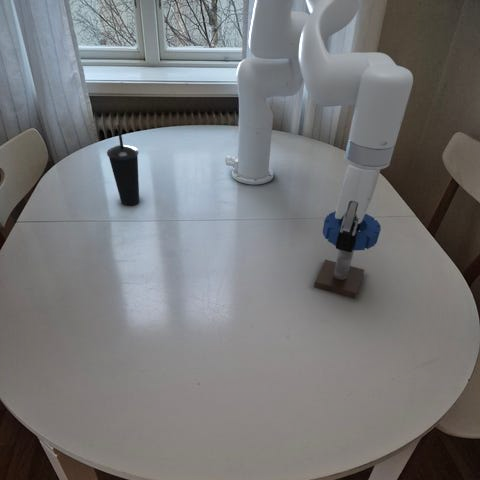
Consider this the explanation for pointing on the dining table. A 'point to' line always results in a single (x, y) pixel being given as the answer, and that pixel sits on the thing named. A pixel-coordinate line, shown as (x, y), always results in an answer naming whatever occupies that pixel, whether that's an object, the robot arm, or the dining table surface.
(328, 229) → the ring
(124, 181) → the drinking cup
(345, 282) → the peg on square base
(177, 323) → the dining table surface
